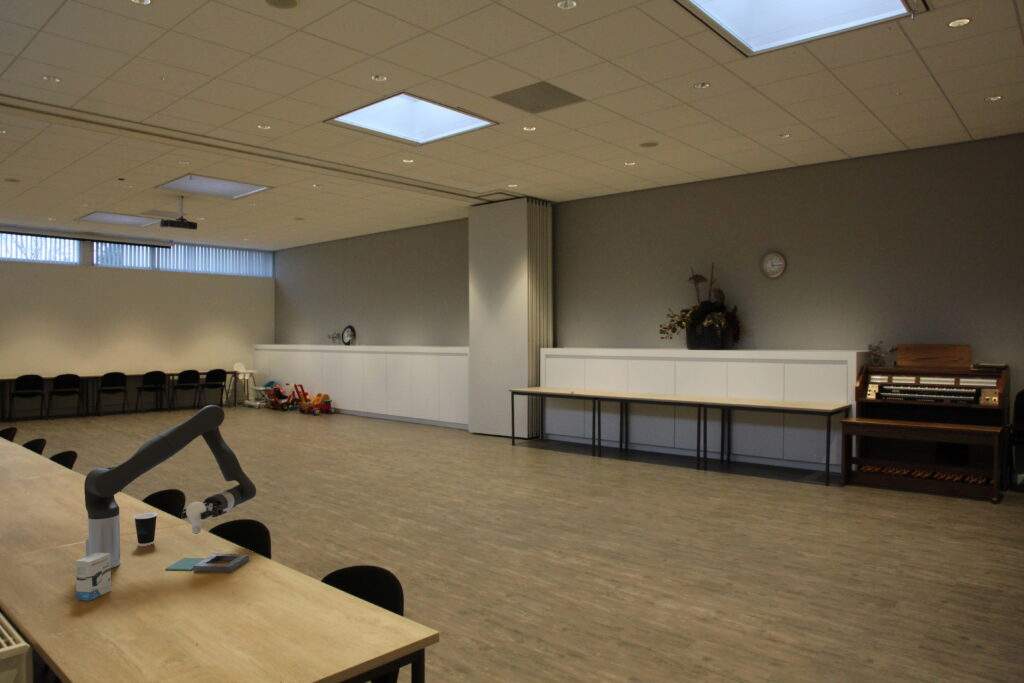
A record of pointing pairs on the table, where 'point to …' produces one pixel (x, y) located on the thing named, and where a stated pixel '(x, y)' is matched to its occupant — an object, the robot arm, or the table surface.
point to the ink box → (93, 576)
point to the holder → (209, 565)
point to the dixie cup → (145, 528)
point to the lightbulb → (195, 515)
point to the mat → (185, 564)
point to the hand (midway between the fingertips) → (192, 516)
